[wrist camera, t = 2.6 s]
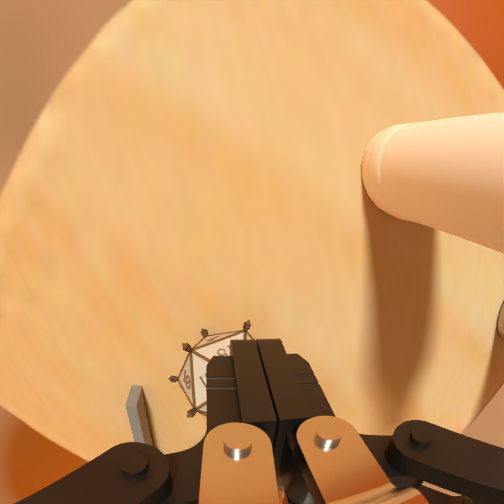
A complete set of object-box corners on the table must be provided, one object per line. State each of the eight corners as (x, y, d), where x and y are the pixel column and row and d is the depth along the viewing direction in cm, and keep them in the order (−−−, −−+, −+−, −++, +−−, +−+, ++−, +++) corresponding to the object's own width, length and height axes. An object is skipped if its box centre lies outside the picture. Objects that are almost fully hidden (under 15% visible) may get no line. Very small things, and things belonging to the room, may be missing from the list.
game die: (242, 337, 31) (294, 422, 25) (161, 366, 27) (206, 462, 21) (252, 279, 25) (325, 386, 19) (146, 312, 21) (202, 444, 15)
